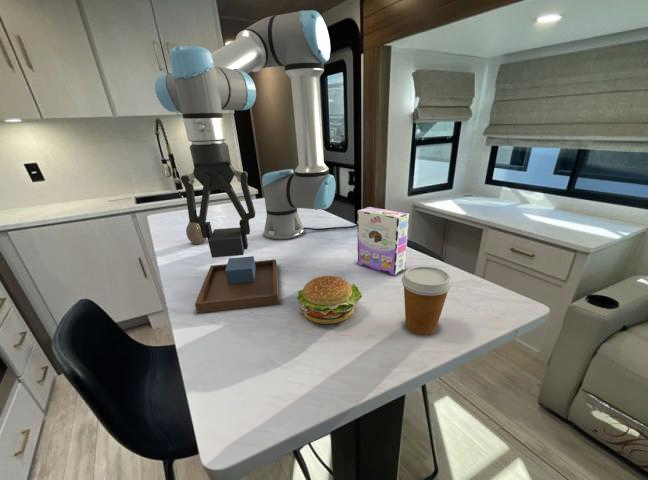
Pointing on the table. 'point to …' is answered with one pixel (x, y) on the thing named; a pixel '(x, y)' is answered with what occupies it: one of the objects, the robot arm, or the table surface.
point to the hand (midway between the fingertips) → (229, 248)
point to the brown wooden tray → (238, 289)
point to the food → (328, 299)
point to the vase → (194, 233)
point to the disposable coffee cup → (424, 297)
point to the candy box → (382, 239)
